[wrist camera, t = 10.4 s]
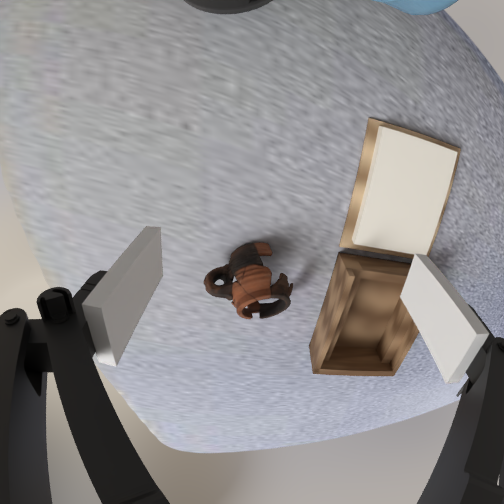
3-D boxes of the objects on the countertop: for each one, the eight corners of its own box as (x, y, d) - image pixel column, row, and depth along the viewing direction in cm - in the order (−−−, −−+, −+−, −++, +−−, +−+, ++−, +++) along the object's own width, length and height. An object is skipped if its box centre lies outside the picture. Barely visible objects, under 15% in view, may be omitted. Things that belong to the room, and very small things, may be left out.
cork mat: (368, 117, 34) (369, 117, 34) (459, 148, 35) (460, 148, 35) (339, 245, 42) (339, 246, 42) (426, 260, 43) (426, 261, 43)
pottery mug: (289, 236, 43) (305, 288, 38) (275, 273, 50) (287, 320, 46) (201, 240, 40) (207, 297, 36) (200, 278, 48) (206, 328, 43)
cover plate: (379, 125, 34) (383, 126, 33) (452, 150, 35) (457, 152, 33) (351, 239, 42) (354, 244, 40) (421, 252, 42) (425, 256, 41)
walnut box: (338, 252, 43) (349, 275, 37) (422, 265, 43) (440, 287, 37) (309, 345, 51) (312, 373, 45) (384, 350, 51) (393, 376, 45)
